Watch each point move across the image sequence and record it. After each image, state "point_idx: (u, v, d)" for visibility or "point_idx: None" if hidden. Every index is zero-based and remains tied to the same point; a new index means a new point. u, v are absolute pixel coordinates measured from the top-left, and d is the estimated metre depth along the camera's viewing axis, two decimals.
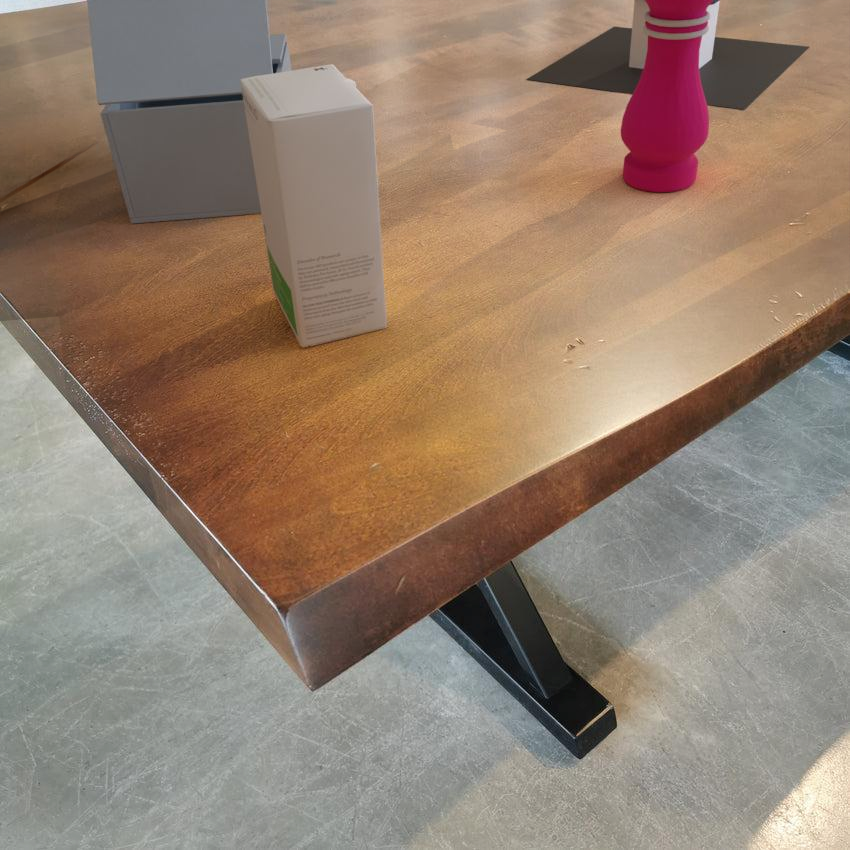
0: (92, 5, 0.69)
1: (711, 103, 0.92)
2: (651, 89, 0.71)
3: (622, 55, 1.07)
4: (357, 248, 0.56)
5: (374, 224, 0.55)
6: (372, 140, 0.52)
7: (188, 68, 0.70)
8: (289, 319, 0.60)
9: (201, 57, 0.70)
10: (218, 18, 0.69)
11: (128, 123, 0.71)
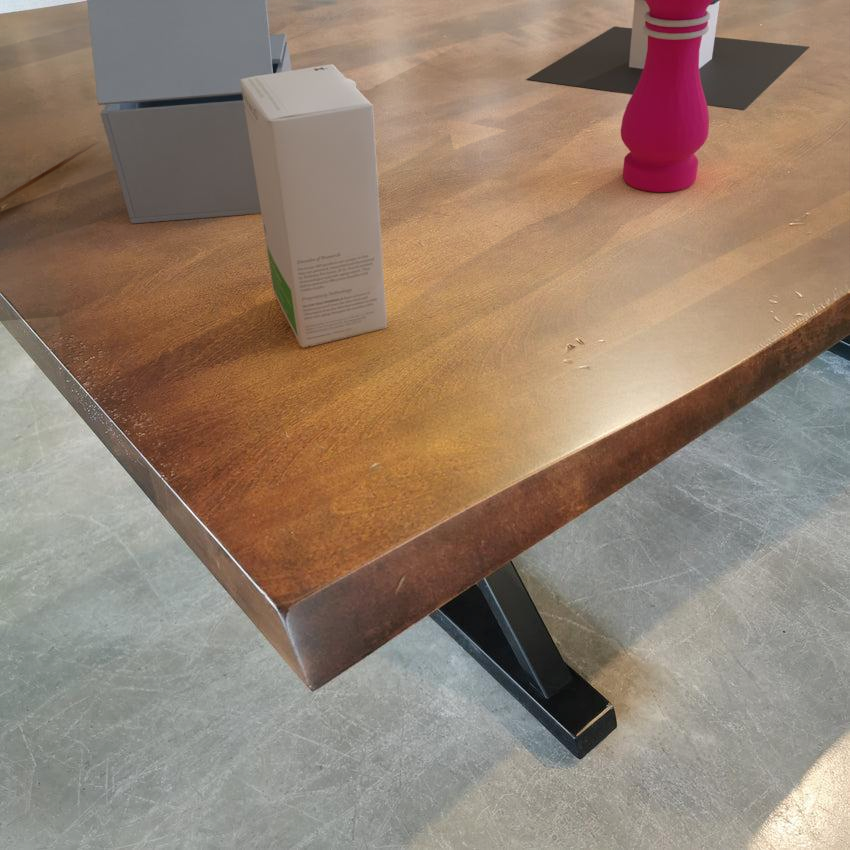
0: (92, 5, 0.69)
1: (711, 103, 0.92)
2: (651, 89, 0.71)
3: (622, 55, 1.07)
4: (357, 248, 0.56)
5: (374, 224, 0.55)
6: (372, 140, 0.52)
7: (188, 68, 0.70)
8: (289, 319, 0.60)
9: (201, 57, 0.70)
10: (218, 18, 0.69)
11: (128, 123, 0.71)
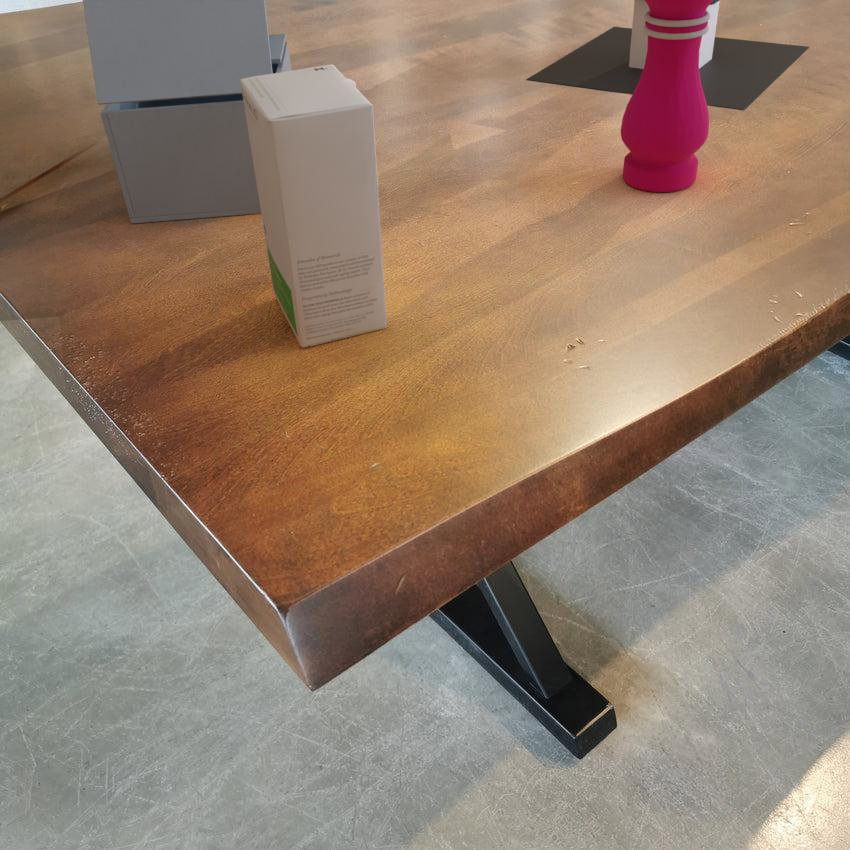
0: (87, 1, 0.68)
1: (711, 103, 0.92)
2: (651, 89, 0.71)
3: (622, 55, 1.07)
4: (357, 248, 0.56)
5: (374, 224, 0.55)
6: (372, 140, 0.52)
7: (187, 67, 0.69)
8: (289, 319, 0.60)
9: (200, 56, 0.69)
10: (216, 15, 0.69)
11: (128, 123, 0.71)
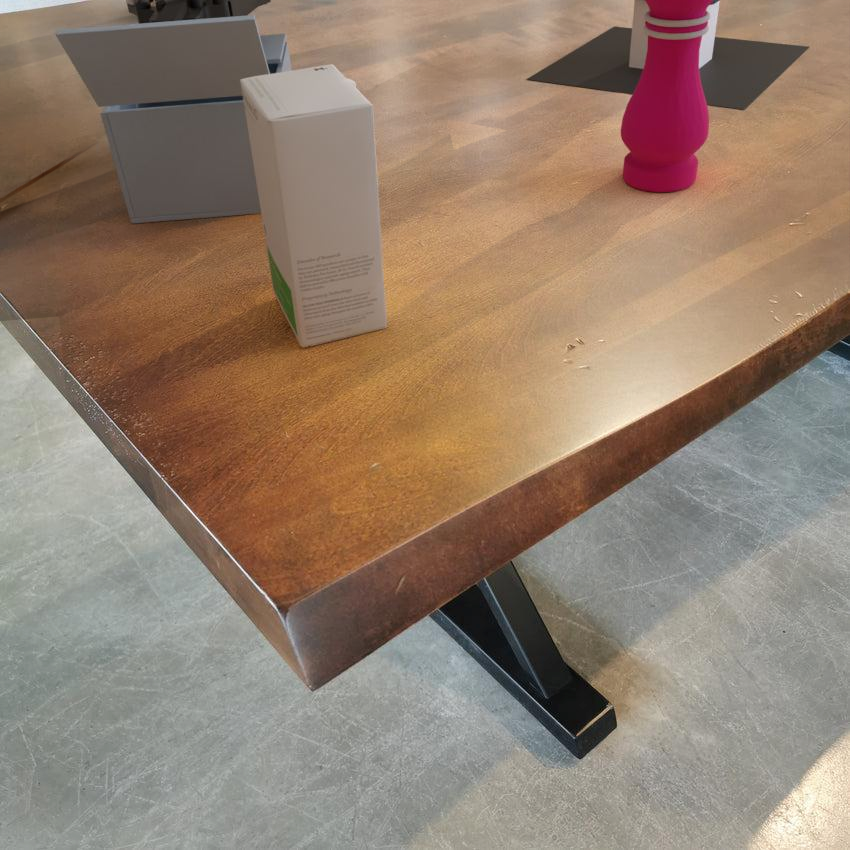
0: (64, 42, 0.62)
1: (711, 103, 0.92)
2: (651, 89, 0.71)
3: (622, 55, 1.07)
4: (357, 248, 0.56)
5: (374, 224, 0.55)
6: (372, 140, 0.52)
7: (184, 82, 0.68)
8: (289, 319, 0.60)
9: (196, 75, 0.67)
10: (208, 47, 0.64)
11: (128, 123, 0.71)
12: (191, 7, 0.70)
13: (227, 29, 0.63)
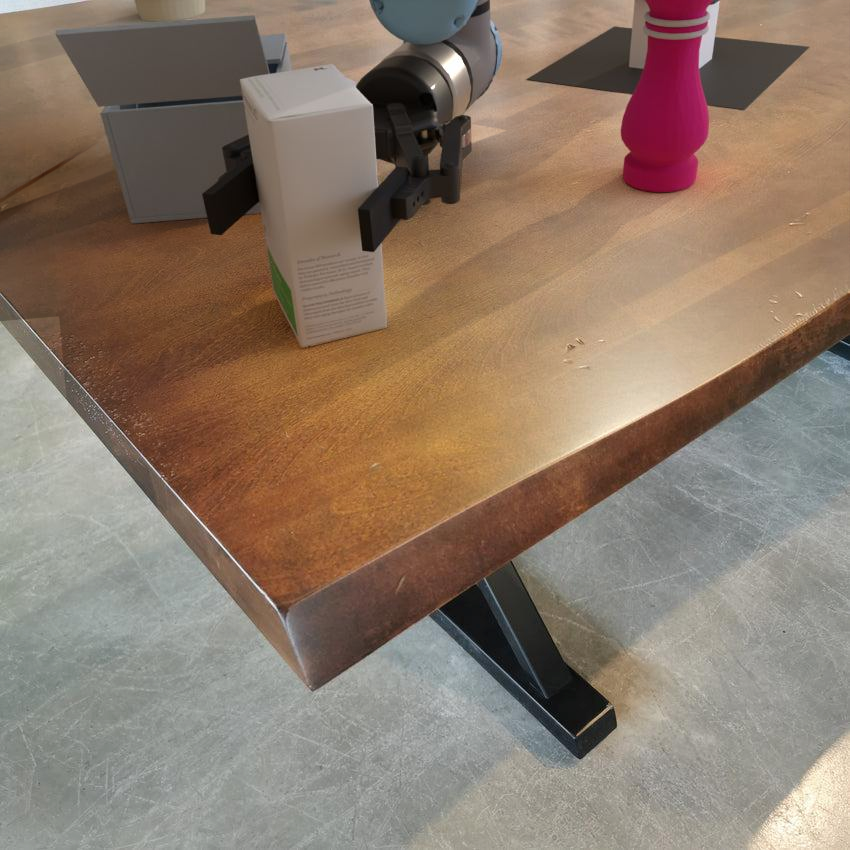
0: (64, 42, 0.62)
1: (711, 103, 0.92)
2: (651, 89, 0.71)
3: (622, 55, 1.07)
4: (357, 248, 0.56)
5: None
6: (372, 140, 0.52)
7: (184, 82, 0.68)
8: (289, 319, 0.60)
9: (196, 75, 0.67)
10: (208, 48, 0.64)
11: (128, 123, 0.71)
12: (416, 177, 0.56)
13: (227, 30, 0.63)
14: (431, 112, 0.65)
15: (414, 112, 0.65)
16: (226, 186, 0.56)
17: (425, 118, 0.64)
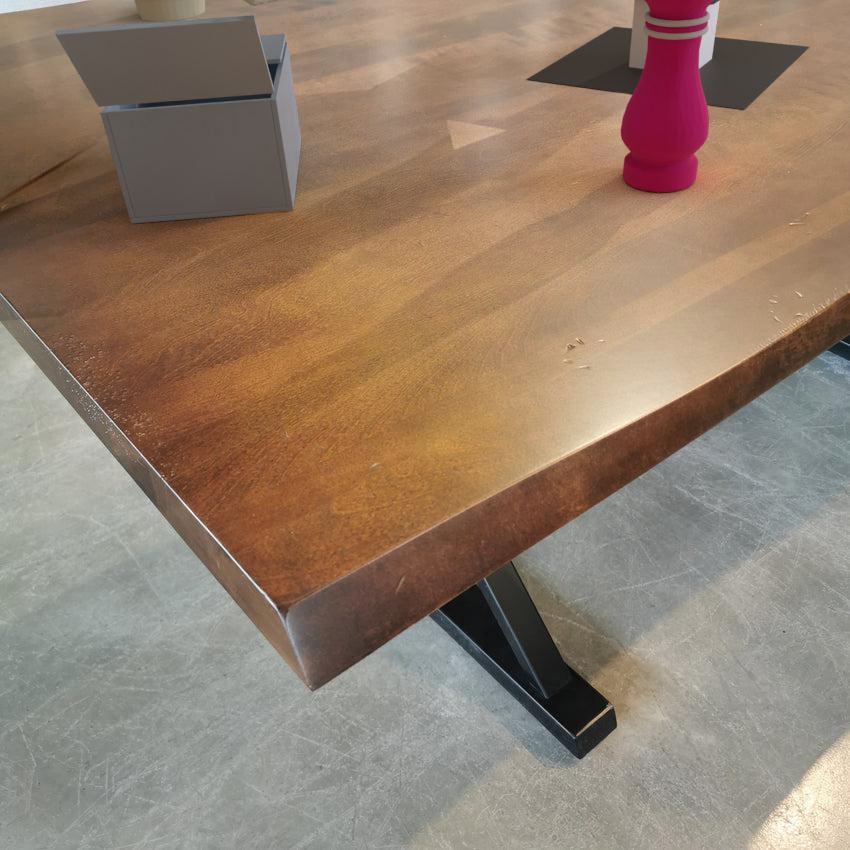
0: (64, 42, 0.62)
1: (711, 103, 0.92)
2: (651, 89, 0.71)
3: (622, 55, 1.07)
4: None
5: None
6: None
7: (184, 82, 0.68)
8: None
9: (196, 75, 0.67)
10: (208, 48, 0.64)
11: (128, 123, 0.71)
12: None
13: (227, 30, 0.63)
14: None
15: None
16: None
17: None
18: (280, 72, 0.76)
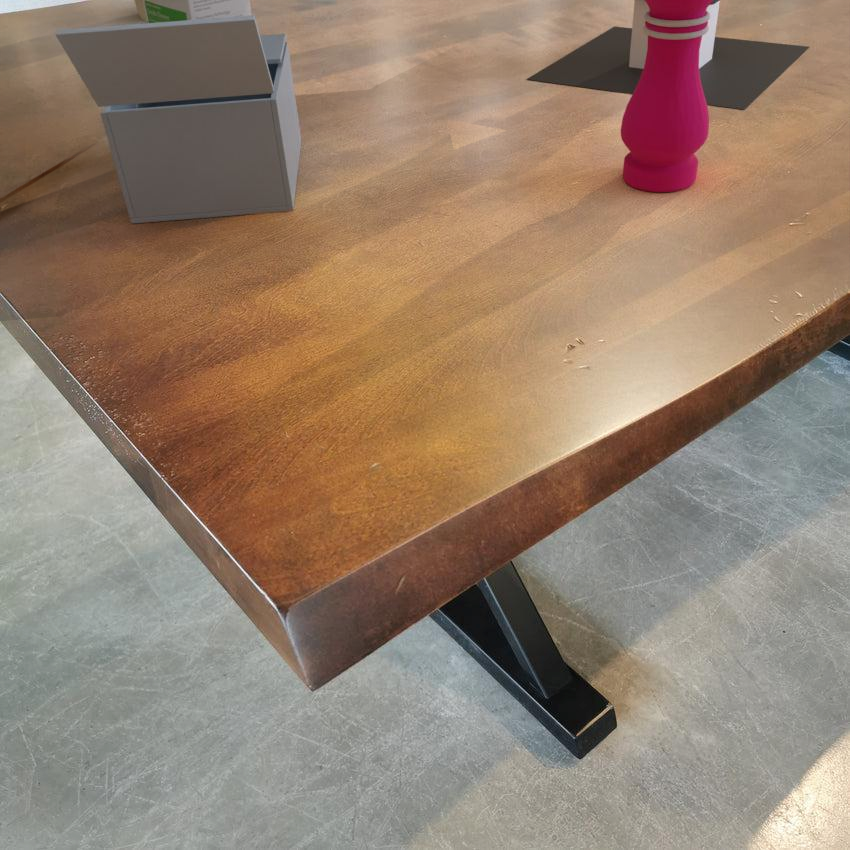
0: (64, 42, 0.62)
1: (711, 103, 0.92)
2: (651, 89, 0.71)
3: (622, 55, 1.07)
4: None
5: None
6: None
7: (184, 82, 0.68)
8: None
9: (196, 75, 0.67)
10: (208, 48, 0.64)
11: (128, 123, 0.71)
12: None
13: (227, 30, 0.63)
14: None
15: None
16: None
17: None
18: (280, 72, 0.76)
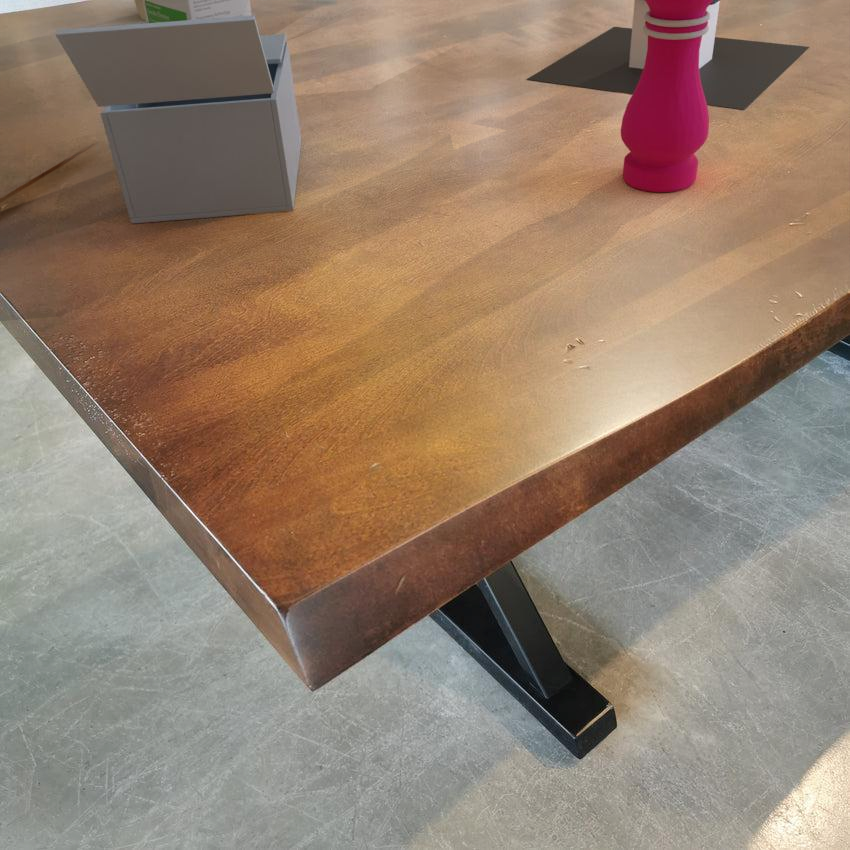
0: (64, 42, 0.62)
1: (711, 103, 0.92)
2: (651, 89, 0.71)
3: (622, 55, 1.07)
4: None
5: None
6: None
7: (184, 82, 0.68)
8: None
9: (196, 75, 0.67)
10: (208, 48, 0.64)
11: (128, 123, 0.71)
12: None
13: (227, 30, 0.63)
14: None
15: None
16: None
17: None
18: (280, 72, 0.76)
